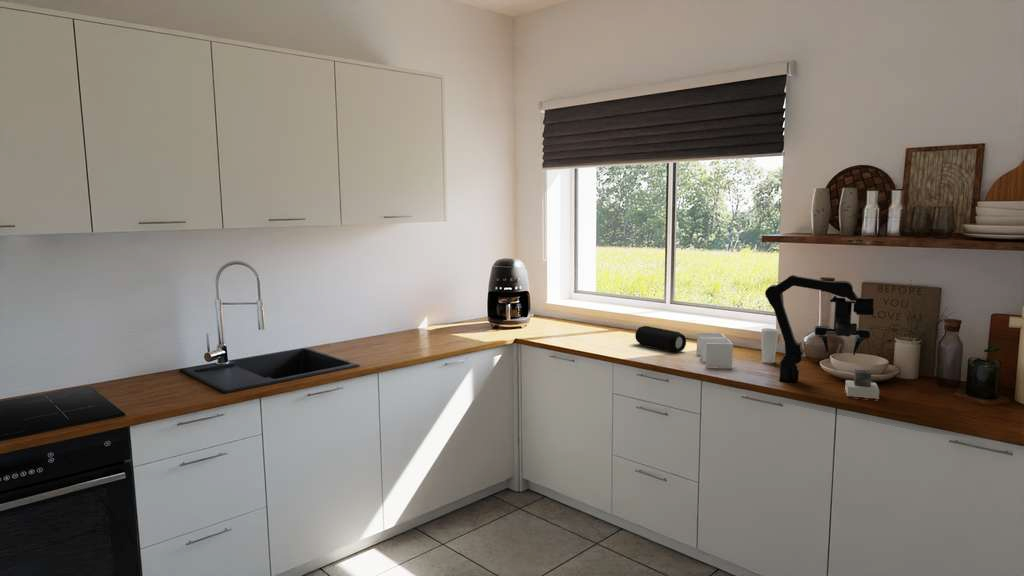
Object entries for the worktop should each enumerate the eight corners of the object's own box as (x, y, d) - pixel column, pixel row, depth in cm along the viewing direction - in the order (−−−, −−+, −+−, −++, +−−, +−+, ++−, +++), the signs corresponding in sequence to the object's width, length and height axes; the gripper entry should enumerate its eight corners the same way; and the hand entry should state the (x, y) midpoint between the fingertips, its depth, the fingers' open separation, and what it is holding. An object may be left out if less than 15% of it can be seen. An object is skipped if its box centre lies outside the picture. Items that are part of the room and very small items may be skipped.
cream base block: (847, 397, 236) (848, 386, 235) (845, 390, 245) (845, 380, 245) (878, 400, 232) (879, 389, 232) (875, 393, 241) (875, 382, 241)
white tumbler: (758, 363, 289) (760, 330, 287) (762, 360, 294) (763, 327, 292) (774, 365, 285) (776, 331, 283) (777, 362, 291) (779, 329, 289)
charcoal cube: (855, 385, 237) (855, 372, 236) (853, 382, 241) (854, 369, 241) (870, 387, 235) (871, 373, 234) (868, 383, 239) (869, 370, 239)
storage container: (732, 368, 279) (733, 344, 278) (706, 368, 280) (707, 343, 279) (720, 355, 304) (721, 333, 302) (696, 355, 305) (697, 332, 304)
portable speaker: (687, 351, 312) (687, 331, 311) (673, 354, 306) (674, 334, 305) (647, 343, 332) (647, 324, 331) (633, 345, 327) (634, 326, 325)
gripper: (817, 315, 243) (814, 356, 245) (873, 318, 236) (870, 360, 238) (815, 311, 253) (813, 350, 255) (869, 314, 246) (866, 354, 248)
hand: (840, 353), depth 249 cm, fingers open, 9 cm apart
